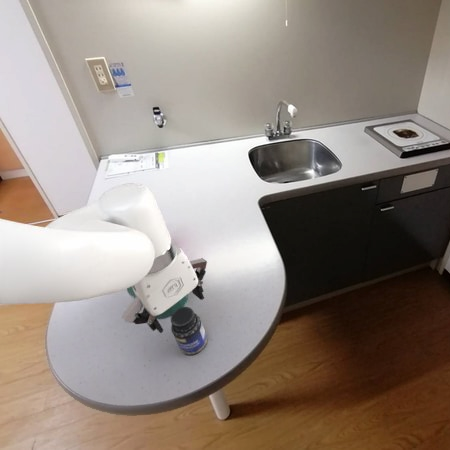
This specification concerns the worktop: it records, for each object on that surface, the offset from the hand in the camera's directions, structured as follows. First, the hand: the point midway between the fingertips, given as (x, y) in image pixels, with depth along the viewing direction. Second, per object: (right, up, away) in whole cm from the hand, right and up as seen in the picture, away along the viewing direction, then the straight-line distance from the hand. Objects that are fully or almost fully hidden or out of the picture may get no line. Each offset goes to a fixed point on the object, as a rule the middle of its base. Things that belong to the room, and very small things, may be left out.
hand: (179, 311), depth 62 cm
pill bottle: (0, -10, +8) cm, 13 cm away
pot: (-11, -2, +17) cm, 20 cm away
